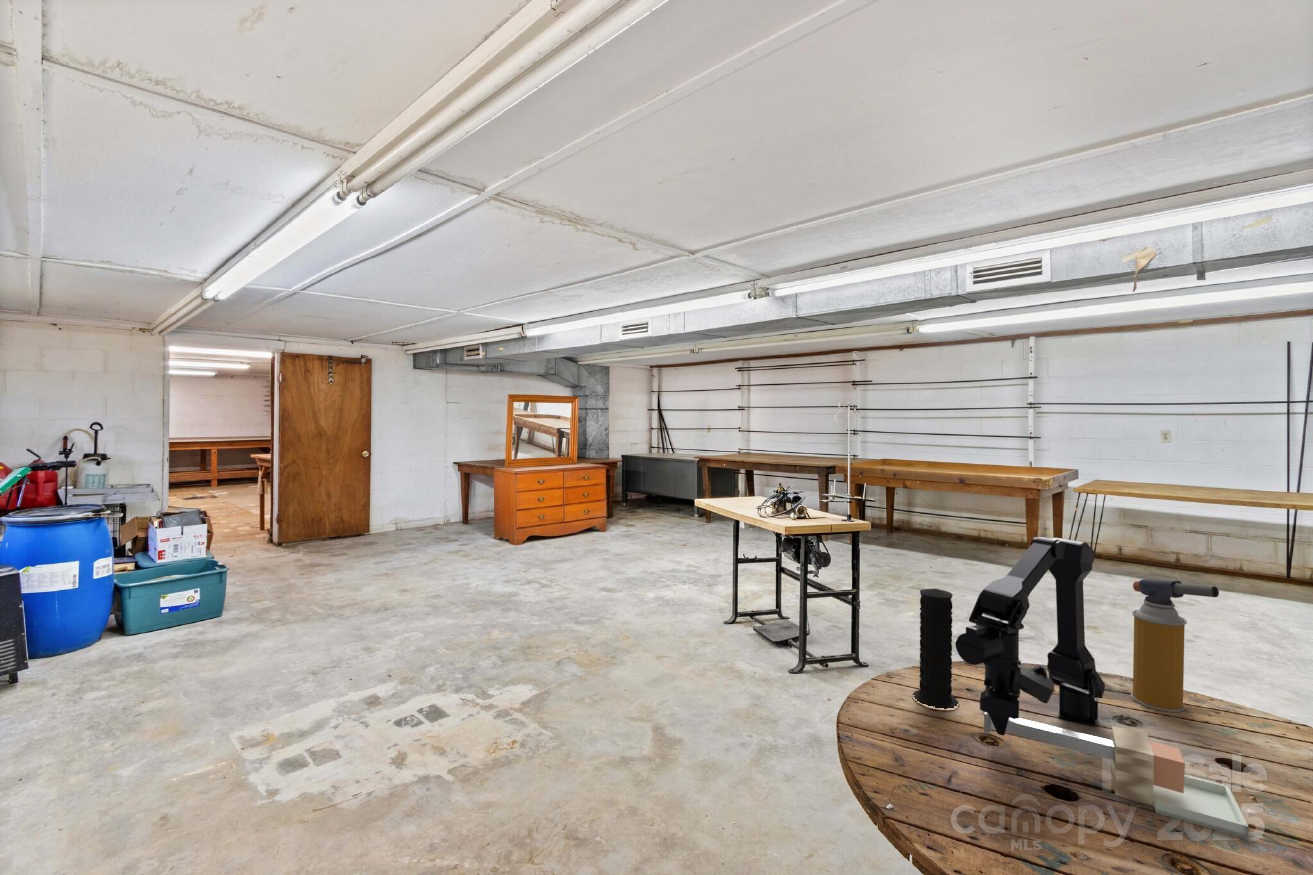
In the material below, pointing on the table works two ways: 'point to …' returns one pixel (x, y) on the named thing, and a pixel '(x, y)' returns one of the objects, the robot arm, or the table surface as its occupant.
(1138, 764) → the pillow block
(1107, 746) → the shaft
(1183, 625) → the blowtorch
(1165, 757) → the collar
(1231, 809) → the tray
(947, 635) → the handle grip
